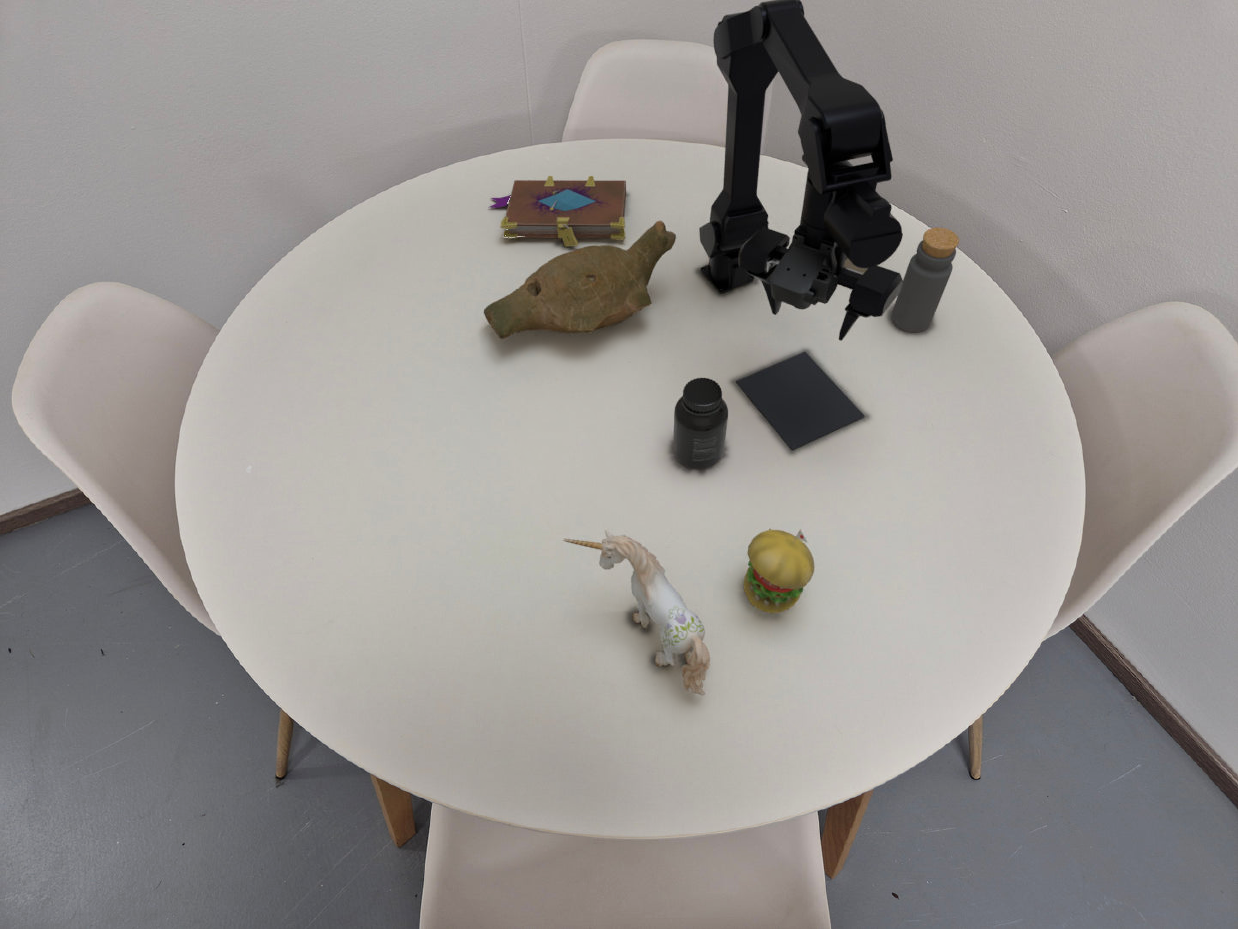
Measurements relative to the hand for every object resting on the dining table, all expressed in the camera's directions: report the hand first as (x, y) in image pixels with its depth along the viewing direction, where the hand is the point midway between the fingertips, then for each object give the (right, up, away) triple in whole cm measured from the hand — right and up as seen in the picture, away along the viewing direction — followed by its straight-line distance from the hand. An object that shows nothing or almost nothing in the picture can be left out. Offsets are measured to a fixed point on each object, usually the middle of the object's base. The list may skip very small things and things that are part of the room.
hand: (808, 325), depth 97 cm
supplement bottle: (-13, -16, +6) cm, 22 cm away
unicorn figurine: (-22, -38, -9) cm, 45 cm away
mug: (+14, +16, +28) cm, 35 cm away
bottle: (+20, +4, +19) cm, 28 cm away
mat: (+1, -8, +11) cm, 14 cm away
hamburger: (-6, -33, -6) cm, 34 cm away
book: (-35, +25, +36) cm, 56 cm away
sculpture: (-29, +5, +22) cm, 37 cm away
